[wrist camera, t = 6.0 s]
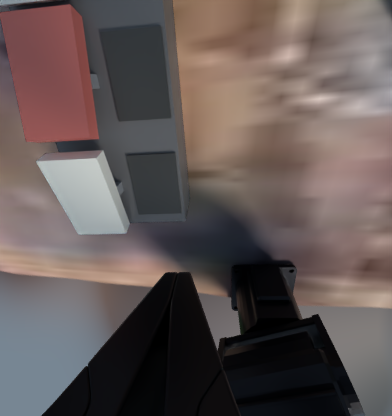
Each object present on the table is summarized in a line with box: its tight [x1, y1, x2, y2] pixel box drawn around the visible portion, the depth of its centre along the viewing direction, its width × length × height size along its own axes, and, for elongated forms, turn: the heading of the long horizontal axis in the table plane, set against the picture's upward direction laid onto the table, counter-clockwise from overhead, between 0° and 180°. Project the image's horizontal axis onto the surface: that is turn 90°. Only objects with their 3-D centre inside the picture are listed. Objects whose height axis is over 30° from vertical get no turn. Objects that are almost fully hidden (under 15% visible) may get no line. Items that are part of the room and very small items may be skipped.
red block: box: [0, 4, 99, 143], centre depth 12 cm, size 6×4×1 cm, turn 5°
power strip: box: [9, 0, 190, 223], centre depth 15 cm, size 19×8×5 cm, turn 4°
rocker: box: [36, 150, 130, 235], centre depth 15 cm, size 6×4×1 cm, turn 3°
